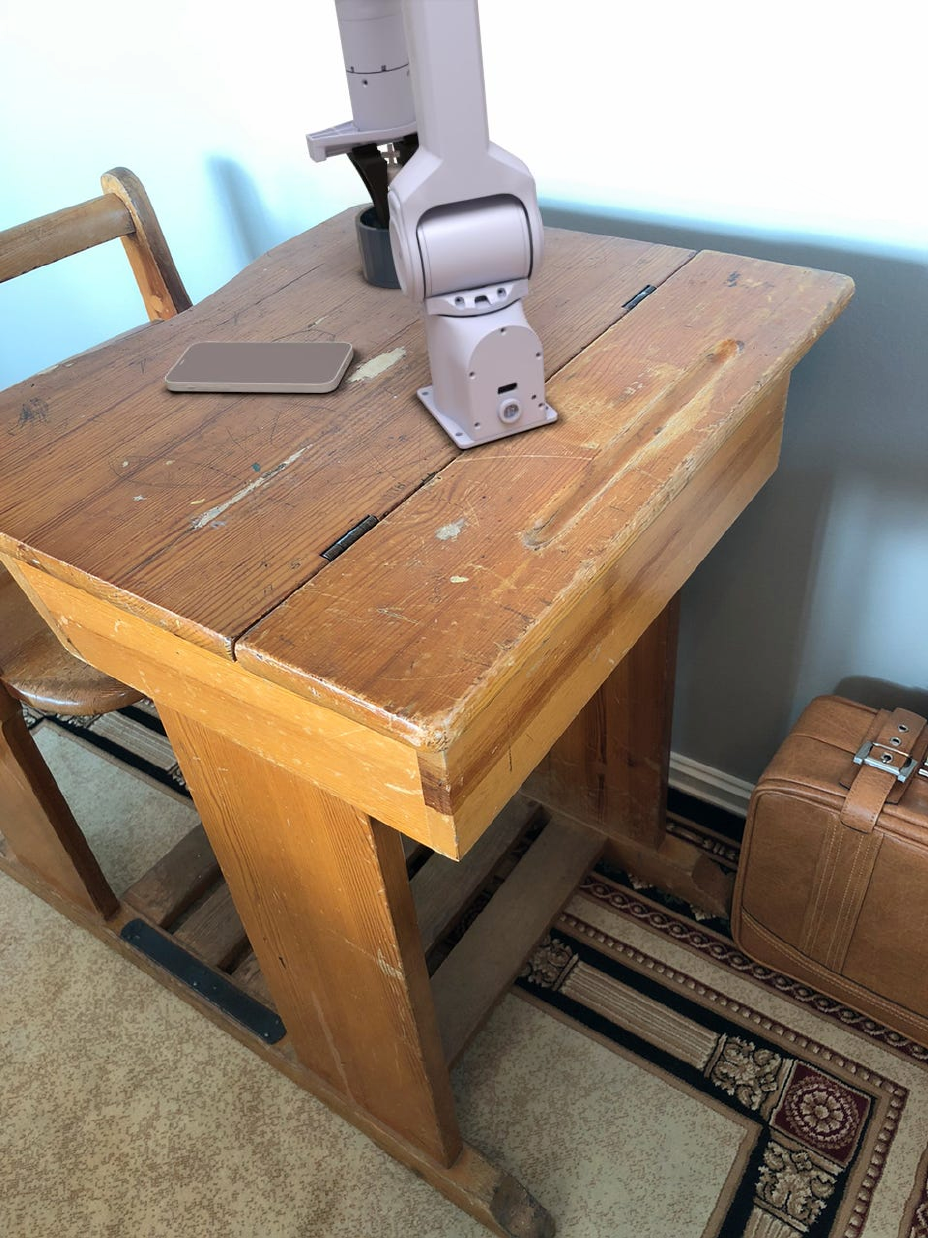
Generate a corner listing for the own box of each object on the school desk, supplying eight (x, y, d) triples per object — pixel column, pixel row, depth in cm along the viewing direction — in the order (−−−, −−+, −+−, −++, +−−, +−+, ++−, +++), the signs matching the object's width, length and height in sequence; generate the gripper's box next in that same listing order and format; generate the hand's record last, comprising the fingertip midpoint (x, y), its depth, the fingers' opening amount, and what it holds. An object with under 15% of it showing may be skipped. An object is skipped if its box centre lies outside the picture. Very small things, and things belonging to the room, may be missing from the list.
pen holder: (461, 274, 94) (455, 216, 90) (380, 295, 92) (371, 237, 89) (430, 246, 100) (423, 191, 96) (353, 266, 98) (343, 210, 94)
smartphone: (332, 384, 78) (159, 382, 81) (334, 395, 79) (163, 392, 81) (355, 341, 83) (192, 341, 86) (357, 351, 84) (195, 350, 87)
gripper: (438, 40, 88) (453, 194, 98) (285, 72, 85) (316, 228, 94) (468, 54, 83) (481, 215, 93) (307, 88, 80) (337, 251, 89)
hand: (400, 223), depth 93 cm, fingers closed
